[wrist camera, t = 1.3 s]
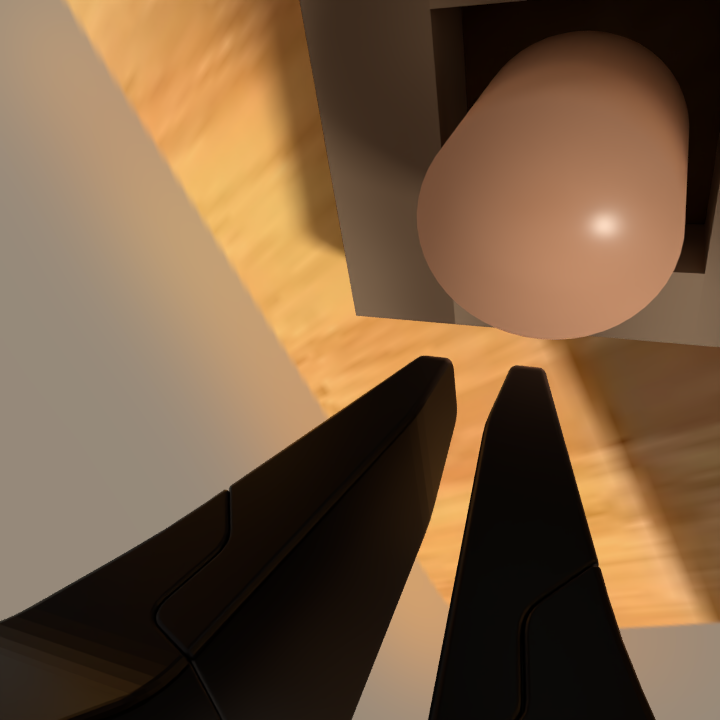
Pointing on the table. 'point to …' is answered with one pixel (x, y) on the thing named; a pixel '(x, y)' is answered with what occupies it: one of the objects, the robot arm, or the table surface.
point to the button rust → (561, 189)
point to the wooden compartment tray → (417, 151)
